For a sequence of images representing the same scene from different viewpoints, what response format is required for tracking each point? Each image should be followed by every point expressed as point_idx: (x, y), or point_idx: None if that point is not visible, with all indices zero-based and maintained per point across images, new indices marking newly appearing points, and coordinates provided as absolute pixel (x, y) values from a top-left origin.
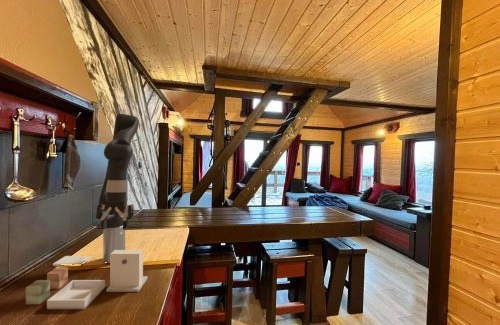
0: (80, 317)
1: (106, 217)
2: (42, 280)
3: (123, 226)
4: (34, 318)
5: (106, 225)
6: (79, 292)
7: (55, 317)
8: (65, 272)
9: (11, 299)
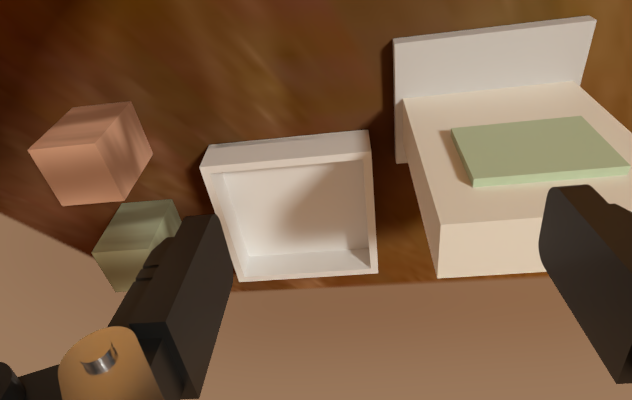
0: (389, 275)
1: (147, 388)
2: (119, 253)
3: (572, 296)
4: (248, 285)
5: (203, 240)
6: (282, 184)
7: (308, 279)
8: (111, 148)
9: (54, 225)
